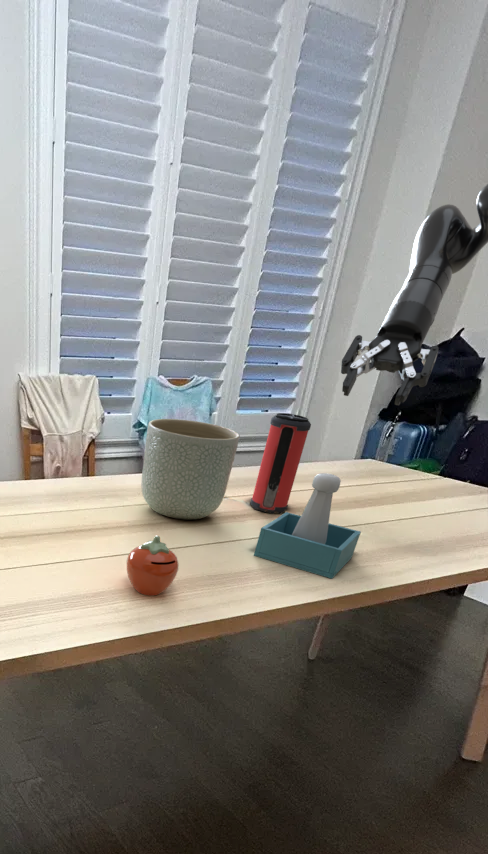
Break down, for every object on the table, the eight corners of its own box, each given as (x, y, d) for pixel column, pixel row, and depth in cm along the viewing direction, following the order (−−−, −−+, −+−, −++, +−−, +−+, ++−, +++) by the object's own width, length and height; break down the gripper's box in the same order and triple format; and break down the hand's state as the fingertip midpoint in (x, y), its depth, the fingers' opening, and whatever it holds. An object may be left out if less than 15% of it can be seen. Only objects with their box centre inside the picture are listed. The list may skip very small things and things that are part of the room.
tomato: (137, 603, 87) (146, 546, 83) (114, 581, 93) (121, 527, 88) (183, 598, 90) (194, 544, 86) (157, 578, 95) (167, 525, 91)
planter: (162, 494, 135) (176, 415, 126) (234, 515, 127) (254, 433, 118) (119, 508, 123) (131, 423, 114) (196, 532, 115) (215, 443, 107)
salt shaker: (281, 549, 110) (304, 472, 103) (297, 543, 114) (319, 468, 106) (312, 560, 107) (338, 481, 100) (327, 554, 111) (352, 477, 103)
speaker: (247, 509, 132) (270, 415, 121) (252, 500, 138) (274, 410, 128) (284, 517, 130) (311, 422, 120) (287, 507, 136) (313, 417, 126)
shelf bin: (351, 558, 113) (361, 531, 110) (331, 578, 103) (341, 550, 100) (278, 537, 118) (286, 511, 116) (253, 555, 109) (261, 527, 106)
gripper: (369, 294, 108) (330, 373, 106) (459, 304, 102) (419, 387, 100) (365, 330, 115) (328, 405, 113) (449, 341, 109) (411, 420, 107)
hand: (371, 396), depth 107 cm, fingers open, 8 cm apart
